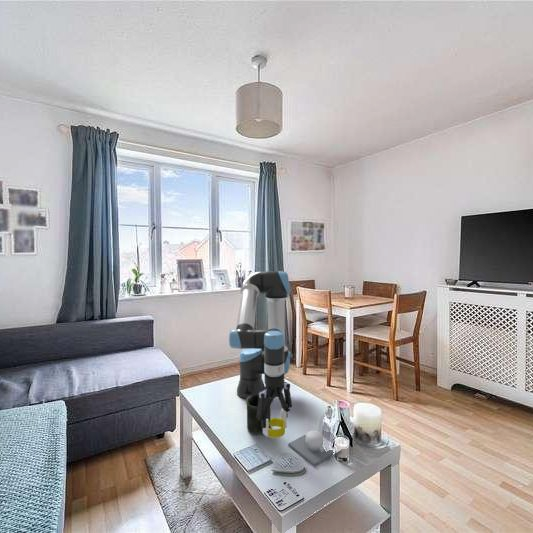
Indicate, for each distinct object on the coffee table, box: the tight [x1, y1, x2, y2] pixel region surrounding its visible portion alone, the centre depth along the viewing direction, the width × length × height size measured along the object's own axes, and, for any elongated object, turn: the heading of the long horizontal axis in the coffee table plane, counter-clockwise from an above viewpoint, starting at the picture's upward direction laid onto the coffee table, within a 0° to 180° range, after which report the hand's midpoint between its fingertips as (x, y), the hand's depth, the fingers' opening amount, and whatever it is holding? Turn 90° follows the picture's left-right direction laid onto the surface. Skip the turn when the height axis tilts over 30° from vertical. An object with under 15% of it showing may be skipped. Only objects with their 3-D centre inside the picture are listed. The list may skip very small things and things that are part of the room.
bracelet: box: [267, 417, 286, 439], centre depth 113 cm, size 7×8×3 cm
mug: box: [245, 394, 272, 435], centre depth 128 cm, size 11×15×12 cm
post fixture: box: [287, 429, 334, 468], centre depth 113 cm, size 14×14×5 cm
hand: (274, 430), depth 113 cm, fingers closed on bracelet, 8 cm apart
